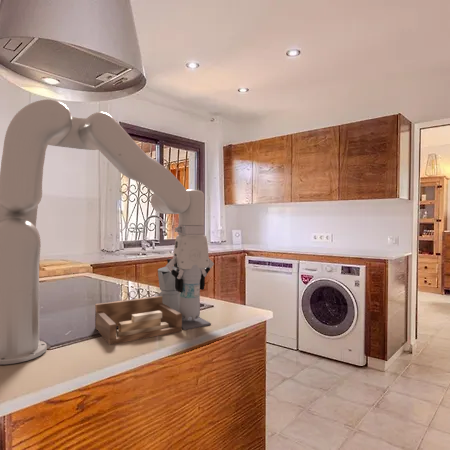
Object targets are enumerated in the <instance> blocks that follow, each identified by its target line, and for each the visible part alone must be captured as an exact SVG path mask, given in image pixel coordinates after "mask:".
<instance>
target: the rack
mask: <svg viewBox="0 0 450 450" xmlns="http://www.w3.org/2000/svg"><path fill="white" fill-rule="evenodd" d="M94 305H95V307H94V308H95V309H94V313H95V315H94V316H95V317H94V321H95V324H94V325H95V326H94V329H96V331H97V330H98V331H99V332H100V333H99V332H98V331H97V332H98V333H99V334H100V335H101V337H102V338H103V339H104V340H105V341H106V342H107V344H108V345H110V346H111V345H115V344H122V343H127V342H131V341H132V342H133V341H137V340H142V339H147V338H152V337H153V338H154V337H159V336H163V335H169V334H173V333H179V332H182V330H183V329H182V314H181V313H179V312H178V311H176V310H174V309H172V308H170V307H169V306H167V305H165V304H163V303H162V296H159V295H157V296H149V297H141V298H133V299H125V300H124V299H123V300H118V301H117V300H115V301H109V302H108V301H107V302H100V303H99V302H98V303H95V304H94ZM152 311H161V312H162V318H161V322H166V323H168V324H169V328H165V329H160V330H154V331H149V332H143V333H137V334H132V335H126V336H121V337H117V327H119V322H123V321H130V320H132V314H139V313H145V312H152Z"/></svg>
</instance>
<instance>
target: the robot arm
mask: <svg viewBox="0 0 450 450" xmlns="http://www.w3.org/2000/svg"><path fill="white" fill-rule="evenodd" d="M48 146H53V147H61V148H69V149H76V150H77V149H78V150H86V151H87V150H88V151H99V152H100V153H101V154H102V155H103V156H104V157H105V158H106V159H107V160H108V161H109V162H110V163H111V164H112V166H114V167H115V168H116V170H118V172H119V173H120V174H121V175H123V176H124V177H126V178H127V179H130V180H132V181H134V182H137V183H140V185H141V184H142V185H143V186H145V187H146V188H147V189H148V190H150V191H151V192H152V195H151V197H150V204H151V207H152V209H153V210H154V211H156V212H158V213H159V214H163V215H164V214H165V215H173V214H174V215H178V224H177V226H176V227H174V232H176V233H177V234H178V235H176V237H175V240H174V247H173V257H172V258H171V259H172V260H171V261H170V262H169V263H167V264H166V265H165V267H166V268H167V269H168V271H169V272H170V273H171V274H172V275H173V276H174V277H175V289H176V291H178V292H183V279H181V277H182V274H183V272H184V270H189V269H191V268H192V266H193V265H198V268H199V269H201V273H202V274H201V279H200V291H203V290H205V285H206V284H205V283H206V277H207V274H208V273H209V272H210V270H211V269H212V268H213V266H214V265H215V263H214V262H213V261H212V260H211V258H209V246H208V238H207V236H206V235H204V233H205V232H204V228H205V227H204V226H205V225H204V223H205V193H204V192H203V191H202V190H199V189H186V187H185V186H184V185H183V184H182V183H181V182H180V180H179V179H178V177H176V176H175V174H173V173H172V172H171V171H170V170H169V169H167V168H166V167H165V166H164V165H162V164H161V163H160V162H158V161H157V160H155V159H154V158H153V157H152V156H149V155H148V154H147V153H146V152H145V151H144V150H143V149H142V148H141V147H140V146H139V144H137V142H136V141H135V140H134V139H133V138H132V137H131V136H130V134H129V133H128V132H127V131H126V130H125V129H124V128H123V127H122V126H121V124H120V123H119V122H118V121H117V120H116V119H115V118H114V117H113V116H112V115H110V114H109V113H107V112H104V111H98V112H94V113H92V114H90V115H89V116H87V117H86V118H83V117H77V116H75V117H74V116H72V113H71V111H70V109H69V107H67V105H66V104H64V103H63V102H61V101H60V100H56V99H49V98H48V99H40V100H36V101H33V102H32V103H29V104H27V105H25V106H24V107H23V108H21V109H20V110H19V111H18V112H16V114H15V115H14V116H13V117H12V119H11V120H10V122H9V124H8V126H7V129H6V131H5V135H4V141H3V147H2V155H1V161H0V365H13V364H14V365H15V364H21V363H24V362H28V361H31V360H33V359H36V358H39V357H40V356H42V355H43V354H44V353H45V352H47V349H48V348H47V347H48V345H47V343H46V342H45V341H43V340H40V263H41V262H40V261H41V260H40V259H41V244H42V243H41V236H40V233H39V230H38V228H37V219H38V217H37V216H38V208H39V207H38V205H39V204H40V203H41V202H42V201H41V200H42V197H43V177H44V176H43V175H44V165H45V158H46V151H47V148H48ZM173 266H174V267H175V268H177V269H176V271H175V270H174V269H173Z"/></svg>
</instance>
